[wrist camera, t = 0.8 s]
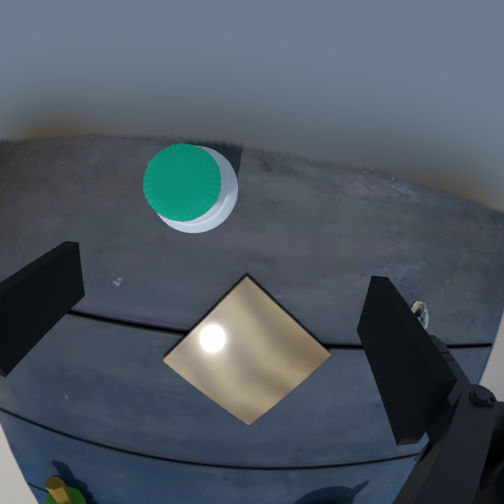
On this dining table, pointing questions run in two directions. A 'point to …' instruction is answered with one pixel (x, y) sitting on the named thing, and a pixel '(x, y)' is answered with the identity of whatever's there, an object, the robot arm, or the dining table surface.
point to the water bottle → (191, 187)
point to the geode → (421, 313)
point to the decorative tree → (62, 493)
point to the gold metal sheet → (247, 353)
